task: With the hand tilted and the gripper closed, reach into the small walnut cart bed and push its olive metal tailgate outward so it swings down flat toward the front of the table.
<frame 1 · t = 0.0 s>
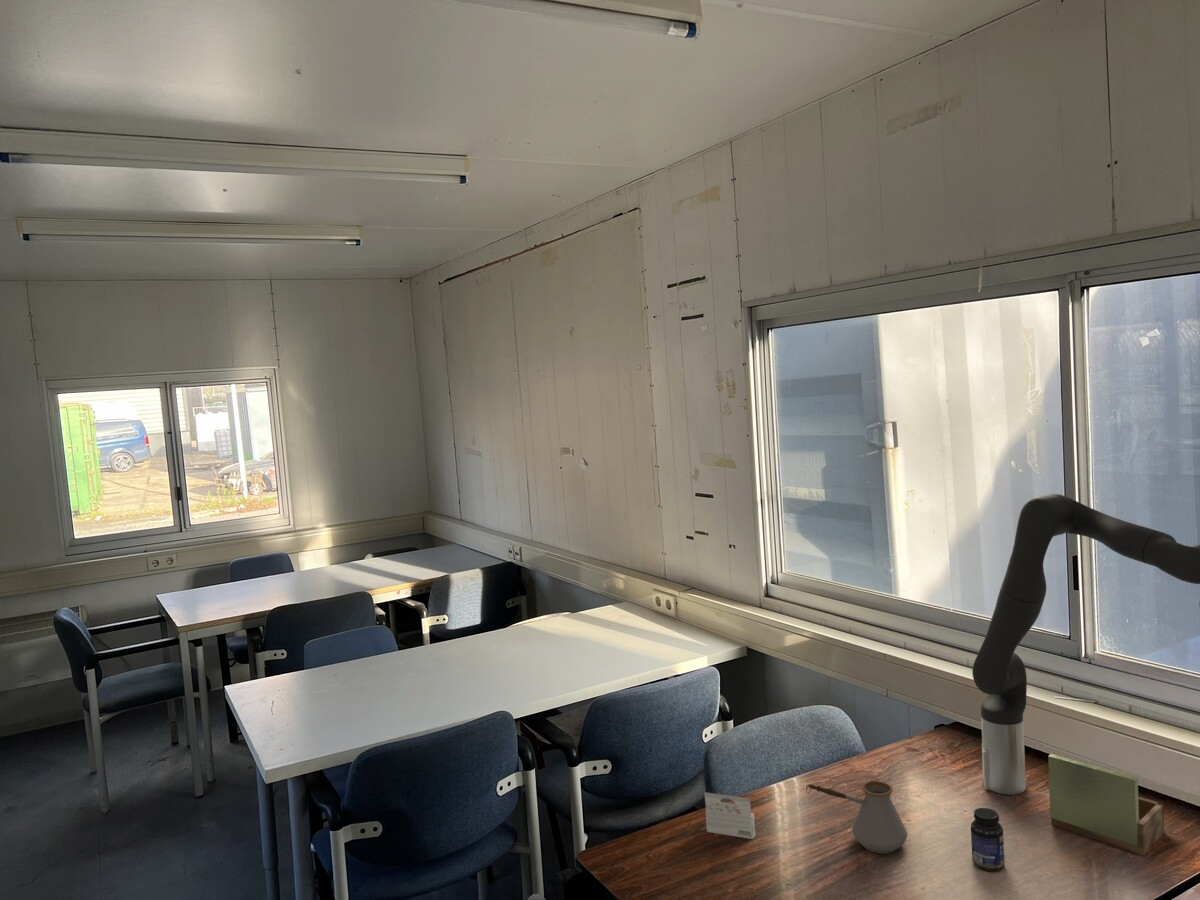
tailgate: (1092, 798, 181), point 9 cm above the table, hinge at 0.0°
coffee pot: (858, 847, 186), on the table
pill bottle: (988, 865, 176), on the table
ink cartridge box: (731, 834, 195), on the table
cart bed: (1095, 839, 182), on the table
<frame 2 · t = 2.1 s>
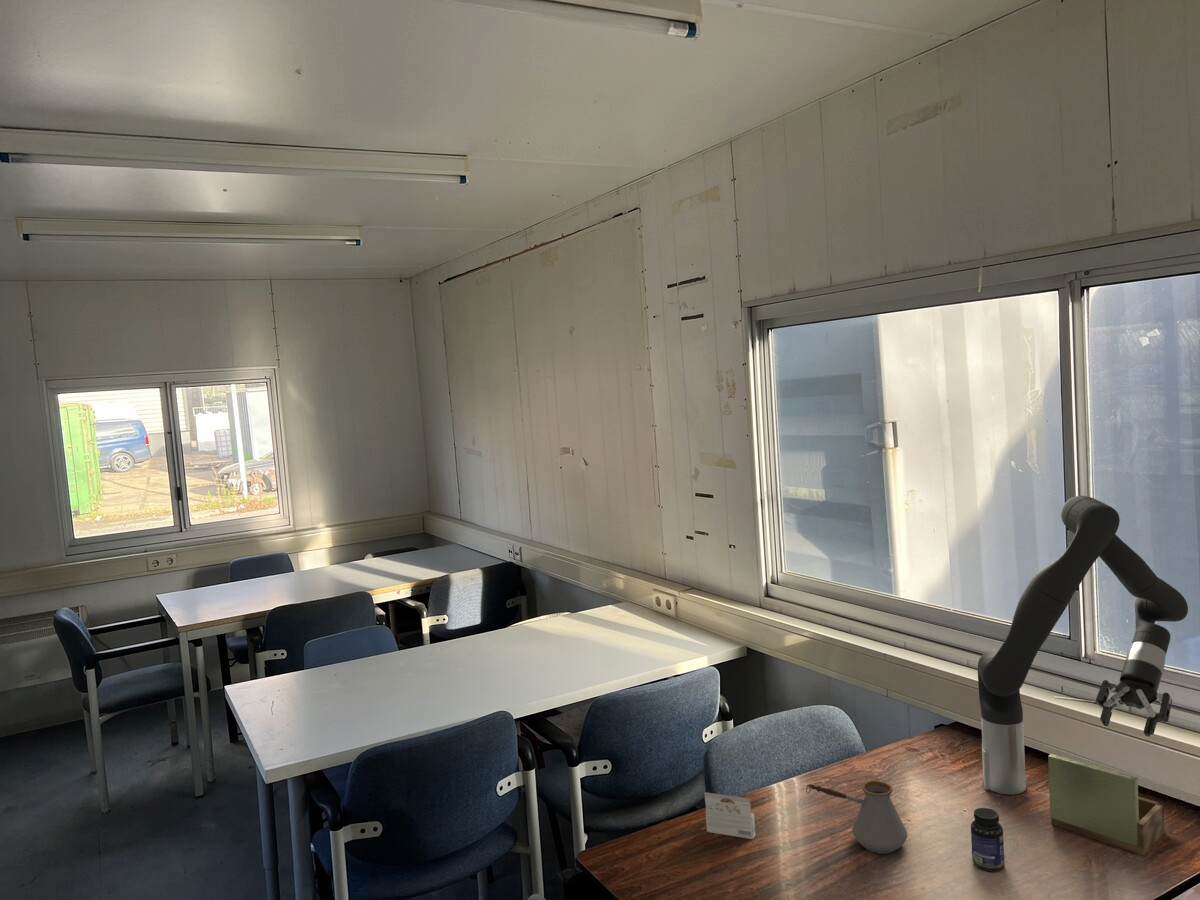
hand: (1125, 729, 191), 19 cm above the table, tool tilted 45°, fingers open, 8 cm apart
nothing on the table moved.
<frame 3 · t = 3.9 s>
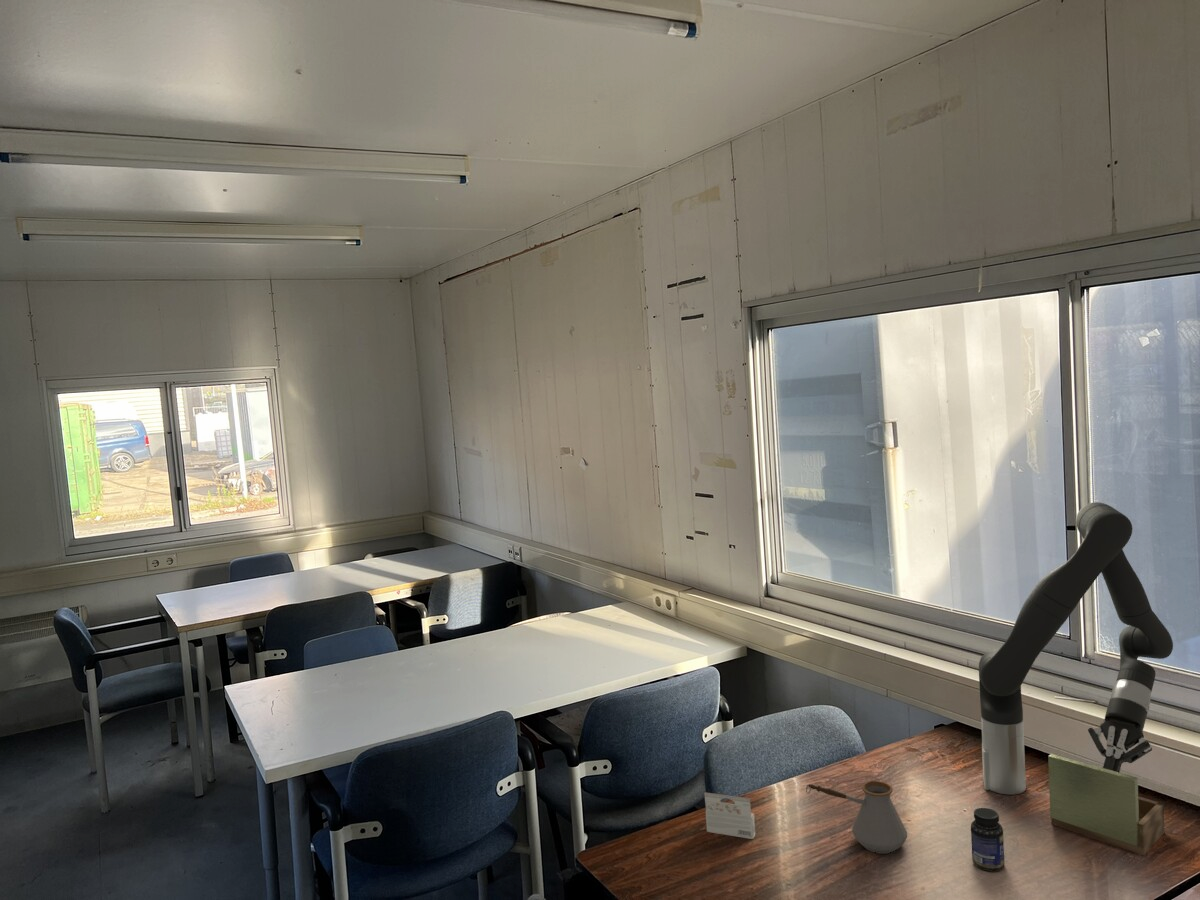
hand: (1109, 775, 186), 11 cm above the table, tool tilted 45°, fingers closed
nothing on the table moved.
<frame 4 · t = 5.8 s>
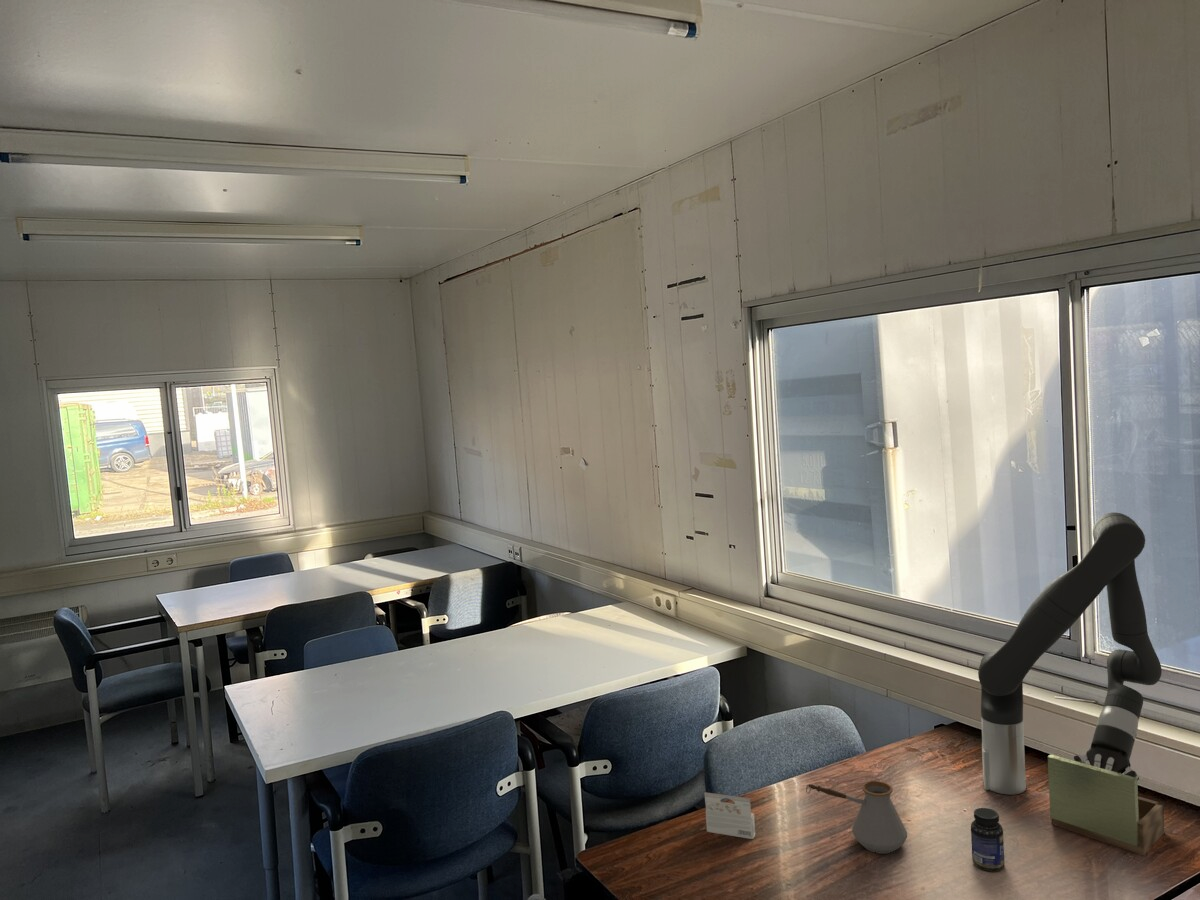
hand: (1095, 805, 181), 7 cm above the table, tool tilted 45°, fingers closed
tailgate: (1092, 798, 181), point 9 cm above the table, hinge at 1.1°, touching gripper
everything else where it was.
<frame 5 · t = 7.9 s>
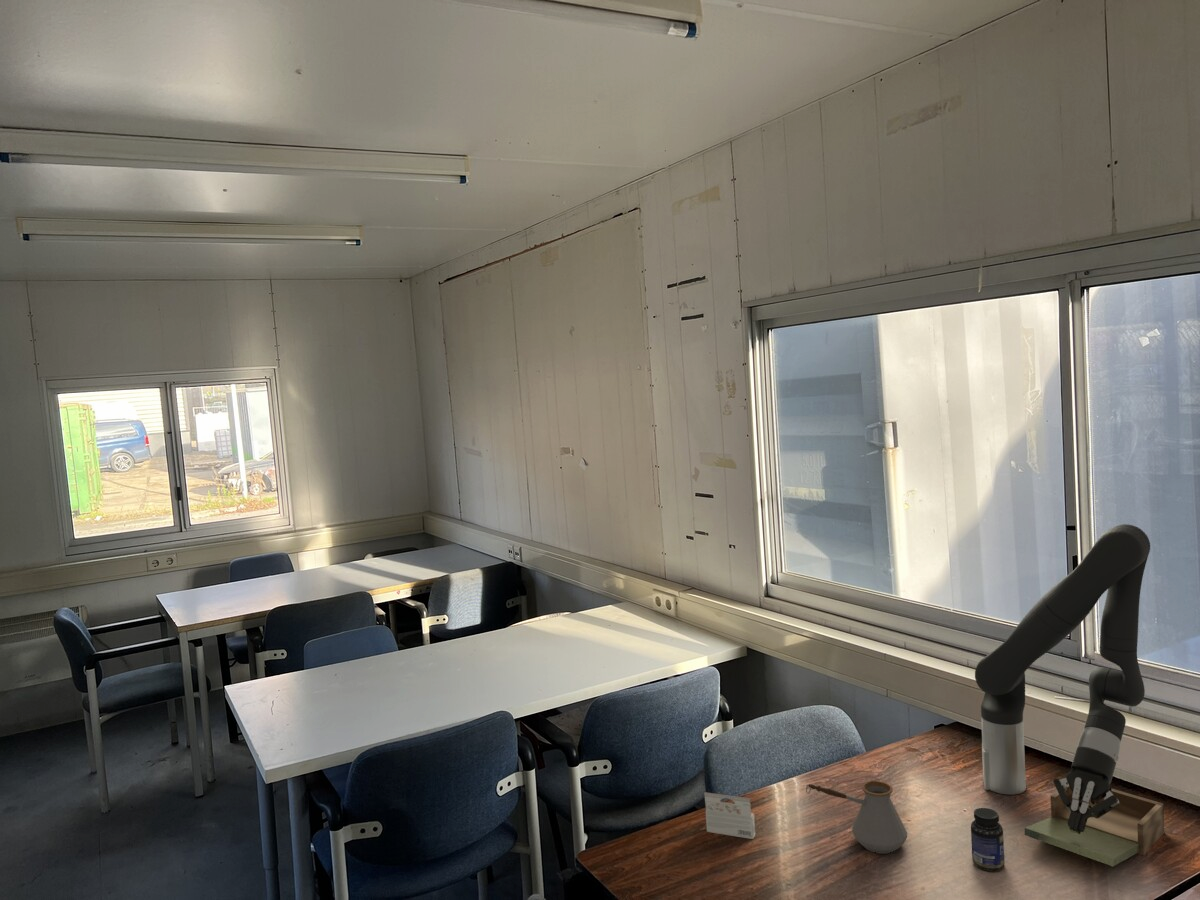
hand: (1074, 831, 175), 6 cm above the table, tool tilted 45°, fingers closed
tailgate: (1081, 839, 177), point 3 cm above the table, hinge at 78.9°
everything else where it was.
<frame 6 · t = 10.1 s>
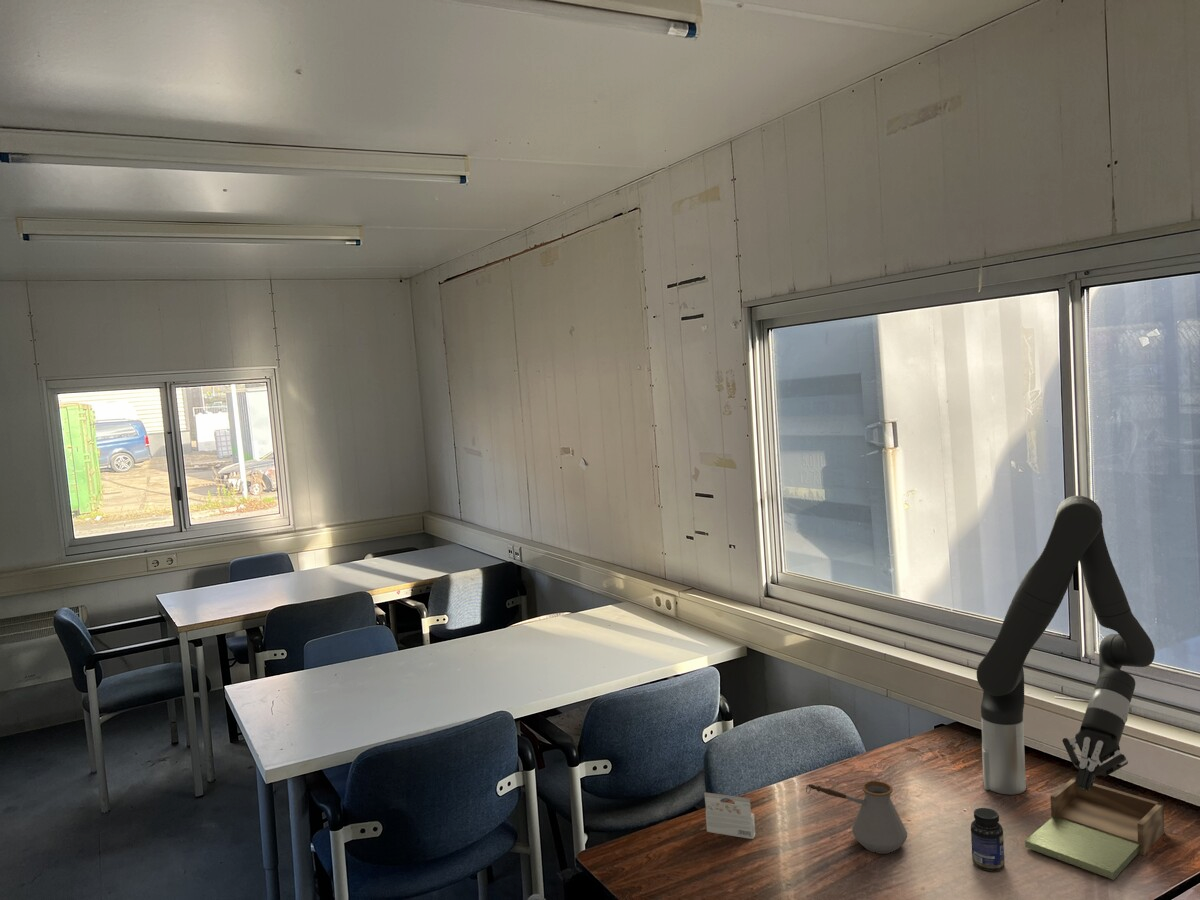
hand: (1082, 788, 178), 13 cm above the table, tool tilted 45°, fingers closed
tailgate: (1082, 845, 177), point 1 cm above the table, hinge at 90.0°, touching cart bed
everything else where it was.
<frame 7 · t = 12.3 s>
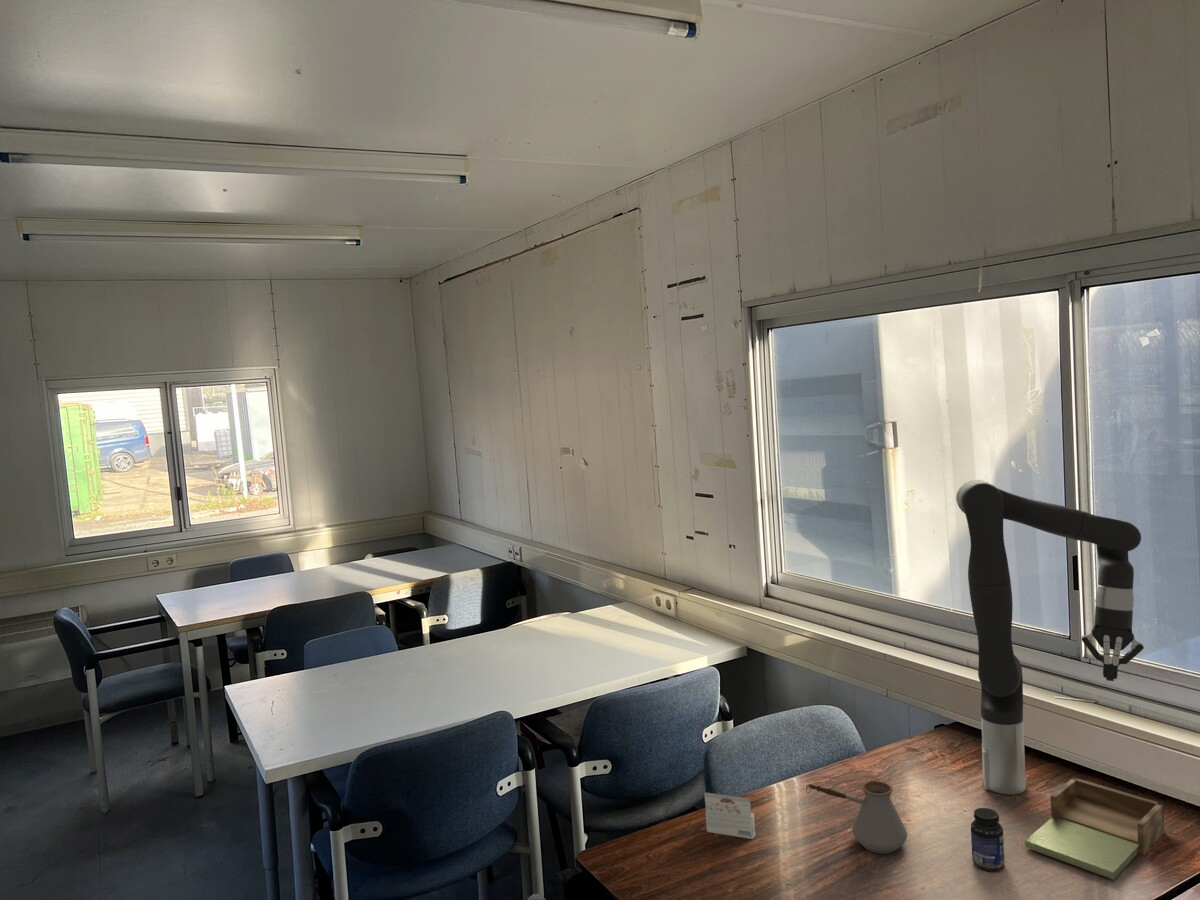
hand: (1109, 680, 198), 28 cm above the table, tool pointing down, fingers closed
nothing on the table moved.
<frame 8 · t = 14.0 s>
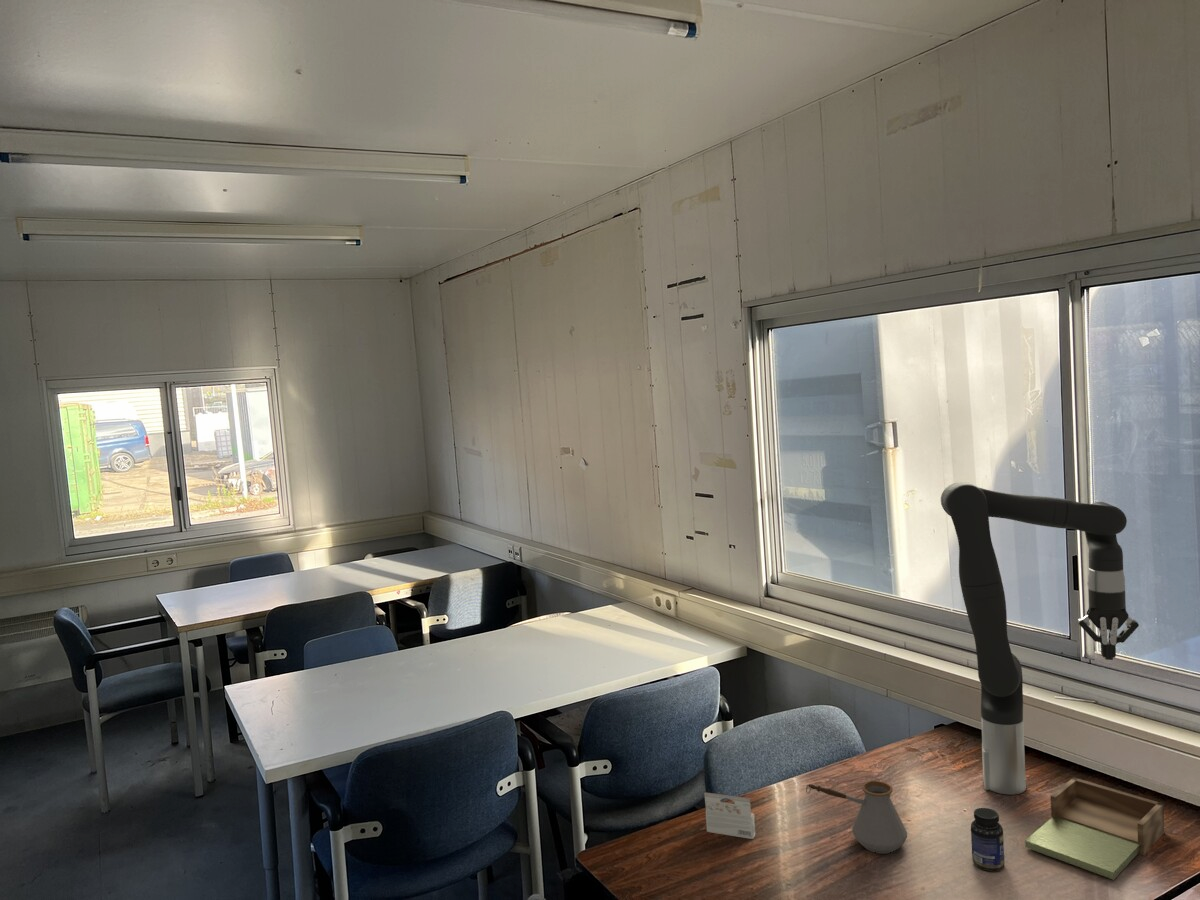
hand: (1108, 658, 202), 31 cm above the table, tool pointing down, fingers closed
nothing on the table moved.
at the end: tailgate at +90° (first picture: +0°); pill bottle moved 0.2 cm from its start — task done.
